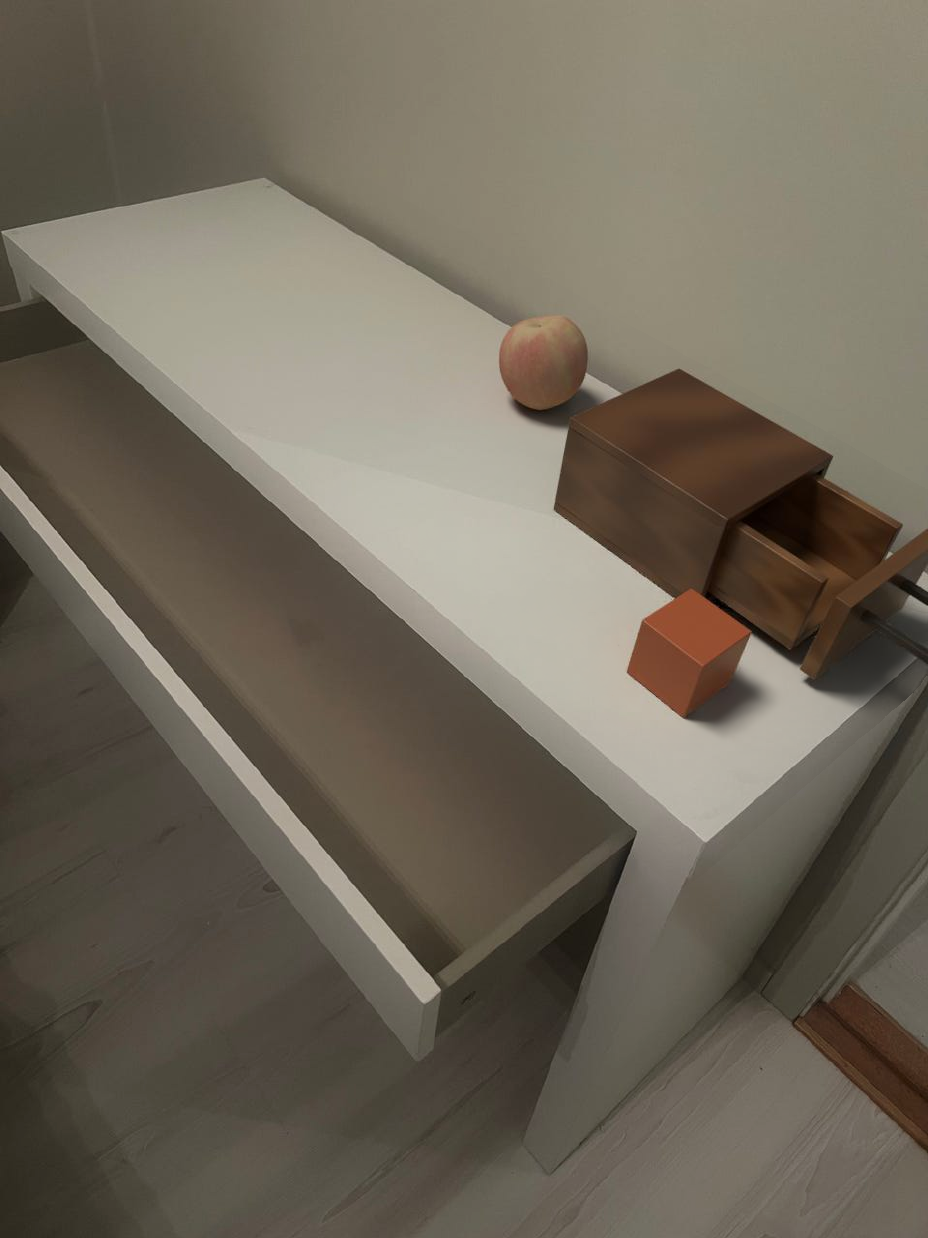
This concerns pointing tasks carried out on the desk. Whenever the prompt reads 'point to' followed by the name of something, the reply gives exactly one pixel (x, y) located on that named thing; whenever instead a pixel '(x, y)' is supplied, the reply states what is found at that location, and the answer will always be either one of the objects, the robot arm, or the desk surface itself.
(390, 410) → the desk surface
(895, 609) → the drawer
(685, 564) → the cabinet
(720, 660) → the block
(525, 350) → the apple
